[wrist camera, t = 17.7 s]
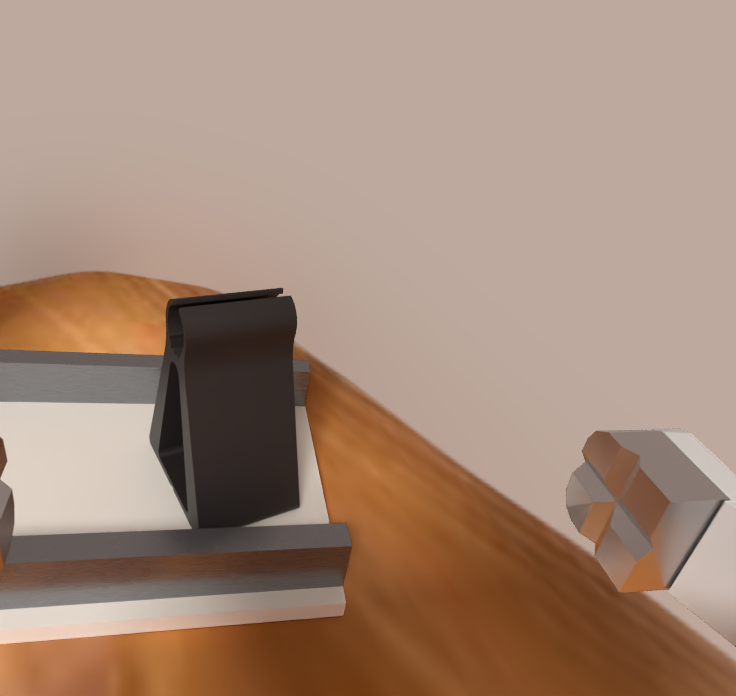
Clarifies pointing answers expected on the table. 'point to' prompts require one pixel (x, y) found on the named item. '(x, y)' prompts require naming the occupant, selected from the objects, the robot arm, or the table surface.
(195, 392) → the phone stand
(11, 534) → the robot arm
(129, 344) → the table surface
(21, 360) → the track rails
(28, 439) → the track base
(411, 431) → the table surface
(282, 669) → the table surface
